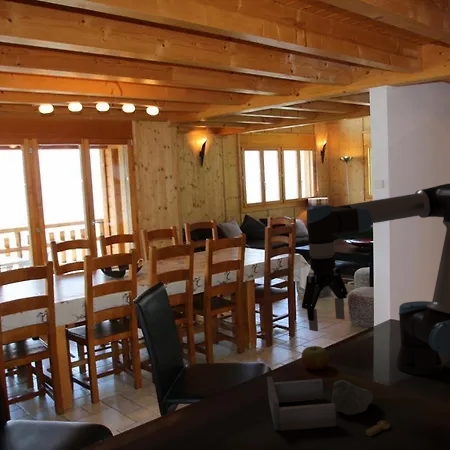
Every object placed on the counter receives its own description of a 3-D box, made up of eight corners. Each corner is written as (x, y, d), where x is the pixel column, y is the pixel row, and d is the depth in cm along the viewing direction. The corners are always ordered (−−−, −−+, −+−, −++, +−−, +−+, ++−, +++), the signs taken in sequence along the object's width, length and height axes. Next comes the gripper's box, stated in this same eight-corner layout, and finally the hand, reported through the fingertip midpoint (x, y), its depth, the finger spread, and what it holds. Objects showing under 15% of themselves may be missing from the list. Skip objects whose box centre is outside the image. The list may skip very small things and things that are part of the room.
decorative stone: (342, 422, 144) (362, 394, 143) (318, 396, 152) (337, 369, 151) (366, 429, 152) (386, 402, 151) (343, 404, 160) (361, 378, 159)
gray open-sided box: (322, 397, 161) (321, 372, 160) (336, 426, 142) (334, 398, 141) (268, 401, 161) (267, 376, 160) (275, 431, 142) (273, 403, 141)
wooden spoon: (382, 423, 142) (382, 419, 142) (392, 427, 139) (391, 423, 139) (363, 433, 137) (363, 429, 137) (373, 438, 135) (372, 433, 135)
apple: (329, 362, 189) (328, 341, 189) (330, 373, 180) (328, 350, 179) (302, 363, 191) (301, 342, 190) (301, 373, 182) (300, 351, 181)
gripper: (336, 249, 166) (340, 312, 168) (285, 263, 149) (291, 333, 151) (355, 249, 160) (360, 315, 162) (306, 264, 144) (312, 337, 146)
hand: (327, 324), depth 157 cm, fingers open, 13 cm apart
